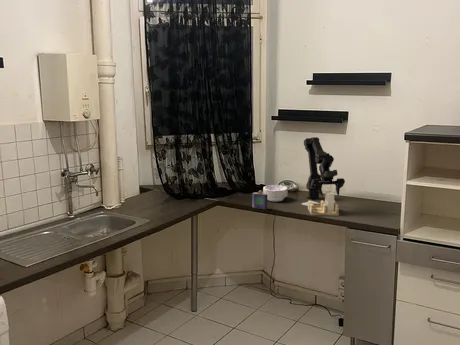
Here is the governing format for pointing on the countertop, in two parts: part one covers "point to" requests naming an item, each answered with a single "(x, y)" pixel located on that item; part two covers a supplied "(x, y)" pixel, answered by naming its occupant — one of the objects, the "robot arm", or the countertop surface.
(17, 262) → the countertop surface
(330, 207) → the white rectangular block
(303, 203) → the drying mat
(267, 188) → the paper bowls
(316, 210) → the rack
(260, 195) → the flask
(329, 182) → the robot arm
